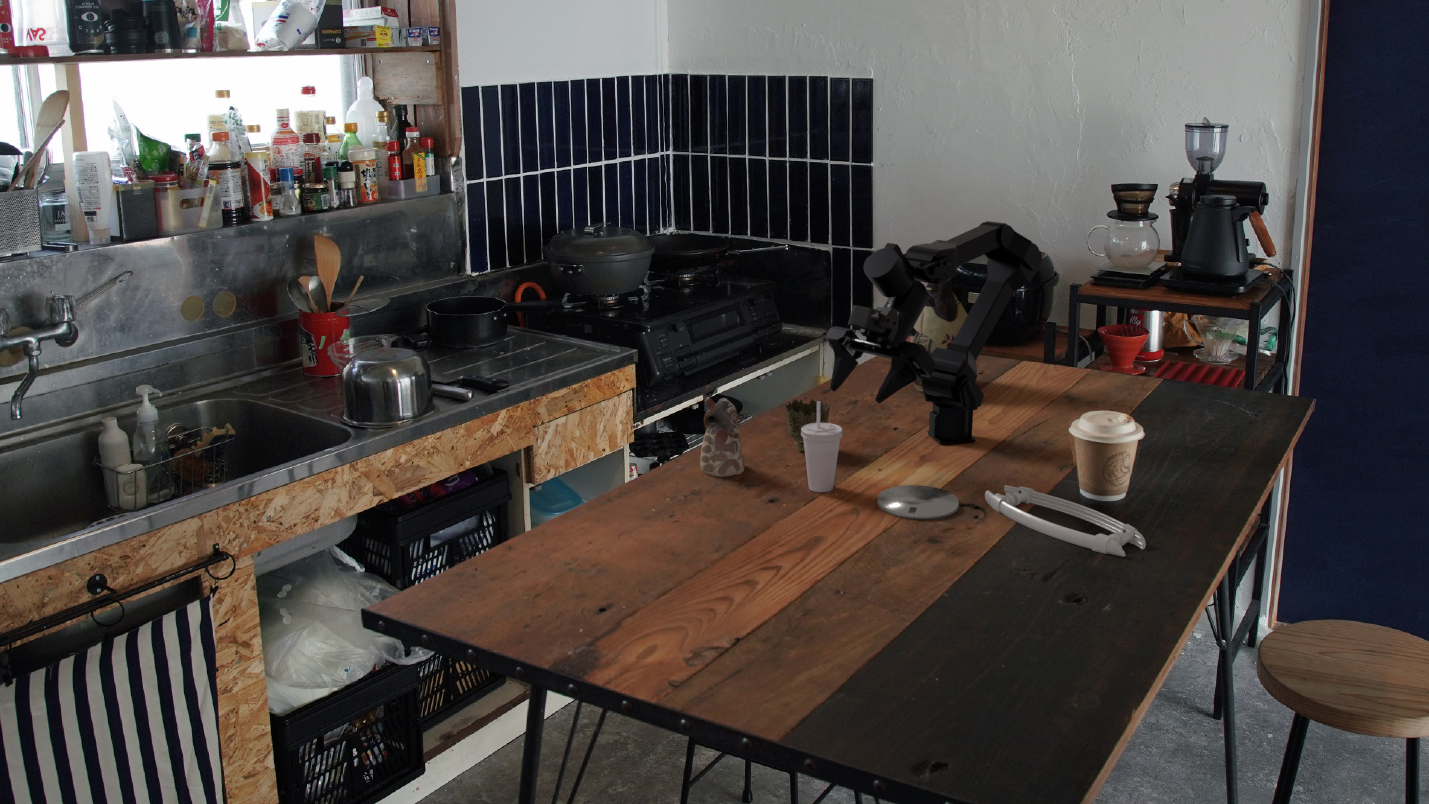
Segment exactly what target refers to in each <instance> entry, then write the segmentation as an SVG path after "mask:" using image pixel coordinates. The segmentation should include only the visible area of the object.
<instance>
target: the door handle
mask: <svg viewBox="0 0 1429 804" xmlns="http://www.w3.org/2000/svg"><path fill="white" fill-rule="evenodd" d="M1003 491H1004V493H1005V495H1004V494H1002V493H1001V494H1000V493H998V492H997V493H995V494H994V493H993V492H992V491H990V490H988V489H987V490H986V491H985V492H984V498H985V501H986V503H987V504H988V505H989V506H990V507H991V509H993V510H994V511H996V512H997V513H998V514H999V513H1000V514H1002V515H1004V516H1006V517H1007V518H1009V519H1011V520H1012V521H1014V522H1017V523H1018V524H1020V525H1023V526H1025V527H1027V528H1029V529H1031V530H1034V531H1036V532H1038V533H1041V534H1043V535H1047V536H1049V537H1051V538H1055V539H1058V540H1061V541H1063V542H1066V543H1068V544H1073V545H1076V546H1079V547H1082V548H1086V549H1090V550H1092V551H1093V552H1096V553H1101V554H1104V555H1105V554H1106V555H1107V554H1109V555H1113V556H1118V557H1122V558H1123V557H1124V558H1125V557H1126V556H1127V555H1126V552H1125V550H1123V546H1125V545H1126V544H1127V543H1129V544H1131V545H1134V546H1136V547H1138V548H1139V549H1140V550H1145V549H1146V544H1147V543H1146V539H1145V538H1144V536H1143V534H1141V533H1140V532H1139V531H1138V529H1137V528H1136V527H1134V526H1132V525H1130V524H1129V523H1126V524H1125V523H1123V522H1122V521H1120V520H1117V519H1115V518H1113V517H1111V516H1110V515H1107V514H1105V513H1102V512H1101V511H1097V510H1095V509H1093V508H1091V507H1087V506H1085V505H1082V504H1079V503H1076V502H1073V501H1070V500H1066V499H1064V498H1060V497H1057V496H1053V495H1050V494H1047V493H1042V492H1038V491H1035V490H1034V488H1031V487H1026V486H1022V485H1021V486H1018V487H1016V486H1012V485H1011V486H1010V485H1005V484H1004V486H1003ZM1021 503H1023V504H1027V505H1028V504H1032V505H1037V506H1040V507H1045V508H1048V509H1051V510H1055V511H1058V512H1062V513H1065V514H1067V515H1070V516H1073V517H1076V518H1078V519H1082V520H1084V521H1087V522H1089V523H1091V524H1094V525H1096V526H1099V527H1101V528H1103V529H1106V530H1107V531H1109V532H1111V534H1109V535H1106V534H1104V533H1098V534H1095V535H1093V534H1089V533H1086V532H1081V531H1079V530H1075V529H1073V528H1070V527H1069V528H1068V527H1067V526H1066V527H1065V526H1062V525H1059V524H1057V523H1053V522H1051V521H1048V520H1045V519H1043V518H1040V517H1038V516H1035V515H1034V514H1033V515H1032V514H1031V513H1028V512H1026V511H1024V510H1022V509H1020V508H1017V507H1016V506H1019V505H1020V504H1021Z"/></svg>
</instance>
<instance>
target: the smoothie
mask: <svg viewBox="0 0 1429 804" xmlns="http://www.w3.org/2000/svg"><path fill="white" fill-rule="evenodd" d="M816 401H817V423H811V424H807V425H805V426H803V427H802V428H801V436H802V437H803V440H804V449H805V452H804V456H805V457H804V458H805V462H806V463H805V465H806V472H807V473H806V474H807V483H808V490H810V491H812V492H815V493H828V492H831V491H833V490H834V483H835V478H836V477H835V476H836V469H837V463H838V462H837V461H838V457H839V449H840V443H841V442H840V441H841V438H843V436H844V433H843V428H842V427H841V426H840V425H838V424H834V423H832V422H831V423H830V422H828V423H820V406H821V401H822V400H821V401H818V400H816Z"/></svg>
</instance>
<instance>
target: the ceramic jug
mask: <svg viewBox="0 0 1429 804" xmlns="http://www.w3.org/2000/svg"><path fill="white" fill-rule="evenodd" d="M945 241H946V240H942V239H937V240H935V241H933V242H932V243H942V242H945ZM952 281H953V277H952V278H951V279H950V280H948V281H947V282H946V283H944V284H942V285H936V284H930V283H926V284H927V285H926V286H925V287H926V288H927V289H928V290H932V291H933V297H934V299H935V307H928V306H925V307H924V309H923V311H922V313H921V314H920V316H919V318H918V320H917V322H916V323H915V325H914V328H915V330H916V331H917V332H916V334H915V336H914V337H913V336H908V338H907V340H906V341H908V342H912V343H917V344H922V345H923V346H924V347H925V348H926V349H927V351H928V352H929V353H930V355H932V353H933V351H934V350H935V349H936V348H937V347H938V348H943V349H946V348H948V347H949V346H950V345H951V344H952V342H953V340H954V339H955V337H956V335H957V333H958V332H959V330H960V328H961V326H962V324H963V323H964V321H965V319H966V317H967V316H968V314H969V313H967V311H966V309H965V308H964V306H963V305H962V302H961V301H959V299H958V297H957V295H956V294H955V292H953V287H952V286H953V285H952ZM912 384H913V386H914V388H915V390H917V391H918V392H922V393H924V392H923V387H922V382H921V380H915V381H914V382H912Z"/></svg>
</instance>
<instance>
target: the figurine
mask: <svg viewBox="0 0 1429 804" xmlns="http://www.w3.org/2000/svg"><path fill="white" fill-rule="evenodd" d="M704 402H705V404H706V405H707V407H708V410H706V412H705V413H704V416H703V424H704V427H705V433H704V436H703V439H702V443H701V448H700V449H701V451H700V459H699V460H700V461H699V464H700V465H699V467H700V470H701V472H702V473H704V474H705V475H708V476H713V477H722V478H723V477H731V476H735V475H740V474H742V473H743V472H744V471H745V470H746V469H745V462H744V461H745V460H744V454H743V450H742V444H741V437H740V434H739V432H740V428H741V422H742V420H743V419H742V418H741V417H740V415H739V414H738V411H737V408H736V406H735V405H734V404H733V403H732V402H731V401H730V400H728V398H725V397H722V398H719V399H718V401H717V402H715V401H714V400H713V399H712V398H711V397H707V398H706V399H705V400H704ZM710 417H713V418H714V420H715V422H710V421H709V418H710Z"/></svg>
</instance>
